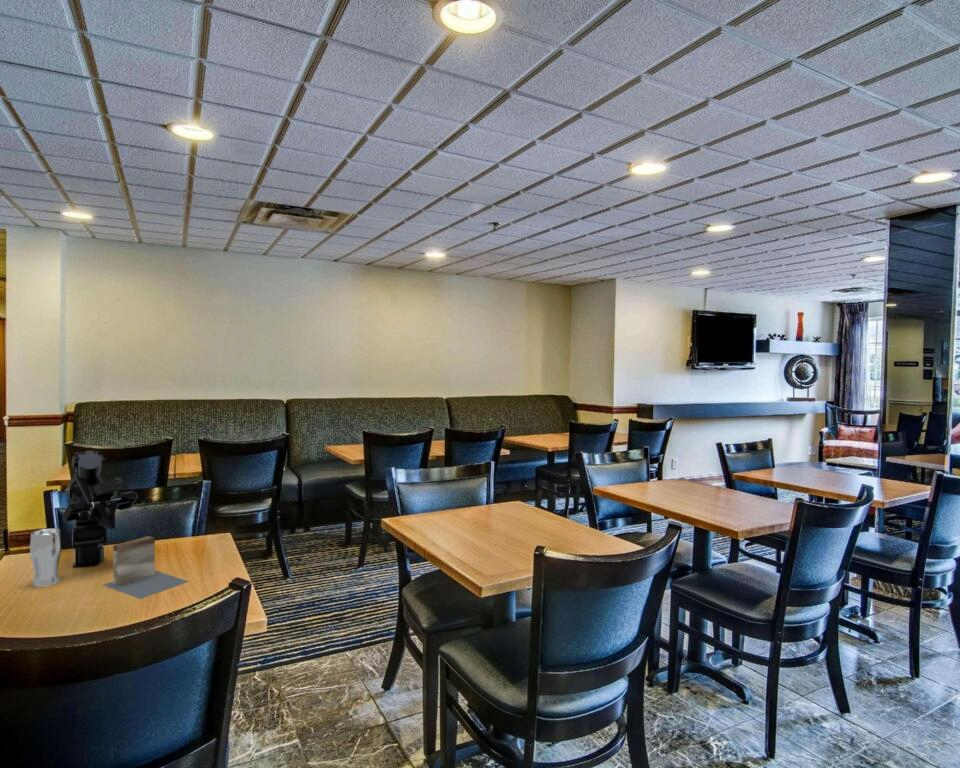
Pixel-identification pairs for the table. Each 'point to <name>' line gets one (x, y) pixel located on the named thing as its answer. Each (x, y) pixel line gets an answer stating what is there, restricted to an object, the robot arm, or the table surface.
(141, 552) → the grey-brown flat block
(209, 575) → the table surface
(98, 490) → the robot arm
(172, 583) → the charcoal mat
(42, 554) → the beer glass
